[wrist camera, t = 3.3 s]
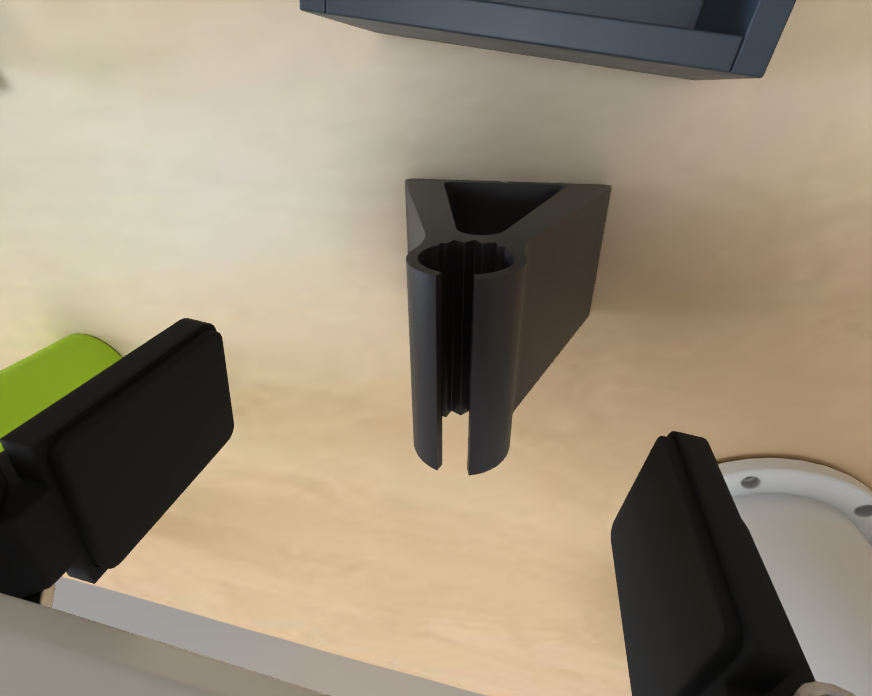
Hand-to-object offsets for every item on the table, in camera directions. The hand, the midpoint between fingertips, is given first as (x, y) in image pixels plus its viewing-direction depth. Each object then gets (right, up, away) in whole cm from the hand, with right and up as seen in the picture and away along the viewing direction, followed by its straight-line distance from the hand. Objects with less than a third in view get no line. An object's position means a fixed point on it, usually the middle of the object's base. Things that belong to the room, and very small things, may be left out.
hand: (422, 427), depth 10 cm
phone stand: (+3, +7, +12) cm, 14 cm away
